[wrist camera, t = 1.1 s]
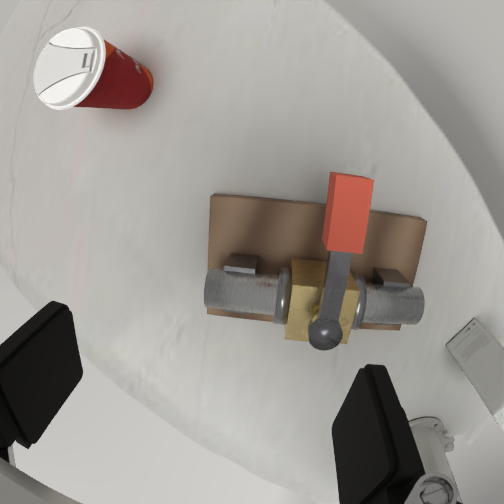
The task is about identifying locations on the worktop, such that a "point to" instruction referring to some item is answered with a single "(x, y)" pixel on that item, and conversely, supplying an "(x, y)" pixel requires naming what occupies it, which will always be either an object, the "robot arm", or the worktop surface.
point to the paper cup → (89, 73)
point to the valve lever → (340, 251)
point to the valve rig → (308, 266)
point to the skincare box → (482, 365)
